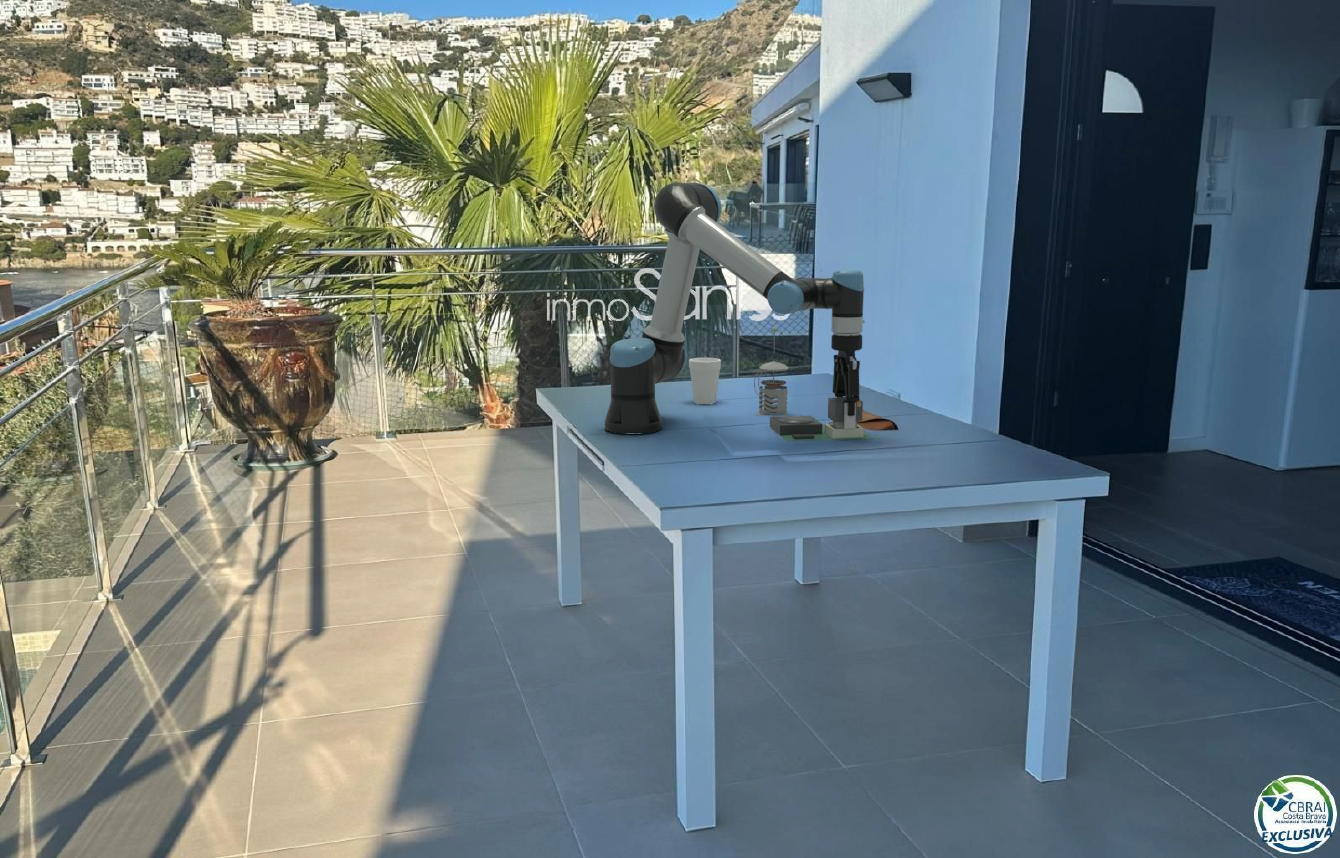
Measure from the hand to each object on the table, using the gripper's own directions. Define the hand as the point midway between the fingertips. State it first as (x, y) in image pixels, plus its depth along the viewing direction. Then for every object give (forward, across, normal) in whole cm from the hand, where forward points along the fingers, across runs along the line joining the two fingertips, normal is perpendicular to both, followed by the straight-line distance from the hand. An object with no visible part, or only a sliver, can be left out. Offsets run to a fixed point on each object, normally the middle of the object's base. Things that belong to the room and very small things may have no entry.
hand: (844, 425), depth 257 cm
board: (+4, +4, +5) cm, 8 cm away
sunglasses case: (+4, +12, -10) cm, 16 cm away
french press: (+3, +34, +11) cm, 35 cm away
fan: (+2, +8, +11) cm, 13 cm away
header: (+3, 0, 0) cm, 3 cm away
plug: (+3, 0, 0) cm, 3 cm away
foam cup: (+3, +56, +26) cm, 61 cm away
